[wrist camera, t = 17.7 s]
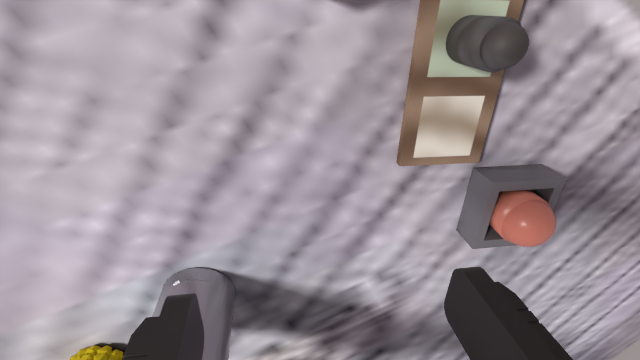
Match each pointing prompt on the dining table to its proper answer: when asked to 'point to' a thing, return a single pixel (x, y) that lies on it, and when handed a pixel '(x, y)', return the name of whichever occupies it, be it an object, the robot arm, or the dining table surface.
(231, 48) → the dining table surface
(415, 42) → the board
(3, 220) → the dining table surface
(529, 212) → the dome
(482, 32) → the pawn
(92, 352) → the food
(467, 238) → the dome collar
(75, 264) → the dining table surface
